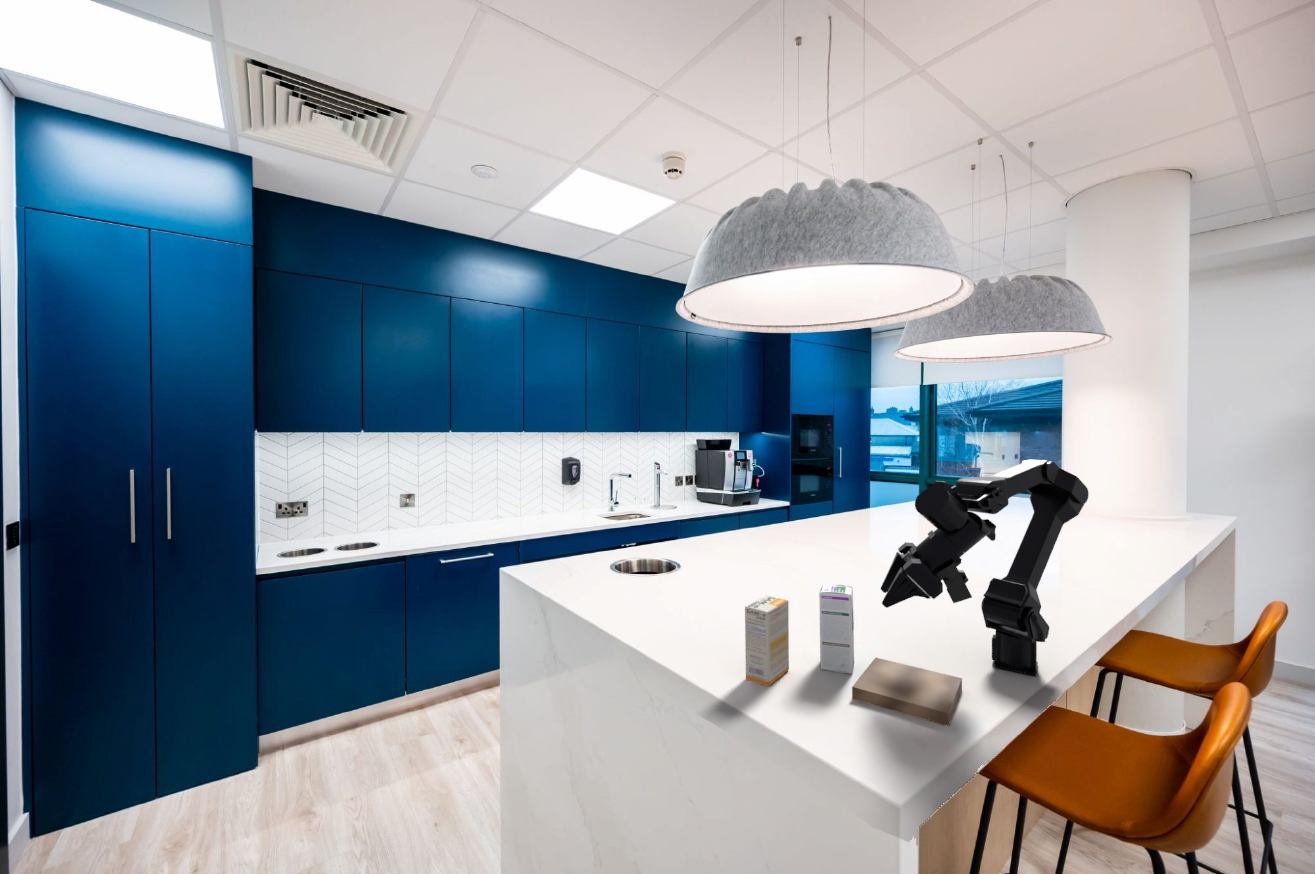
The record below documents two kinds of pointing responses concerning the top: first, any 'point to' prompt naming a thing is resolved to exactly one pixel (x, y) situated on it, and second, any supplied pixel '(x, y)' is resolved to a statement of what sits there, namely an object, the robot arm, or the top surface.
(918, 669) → the walnut block
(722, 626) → the top surface
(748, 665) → the supplement box
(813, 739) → the top surface
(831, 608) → the syrup box
